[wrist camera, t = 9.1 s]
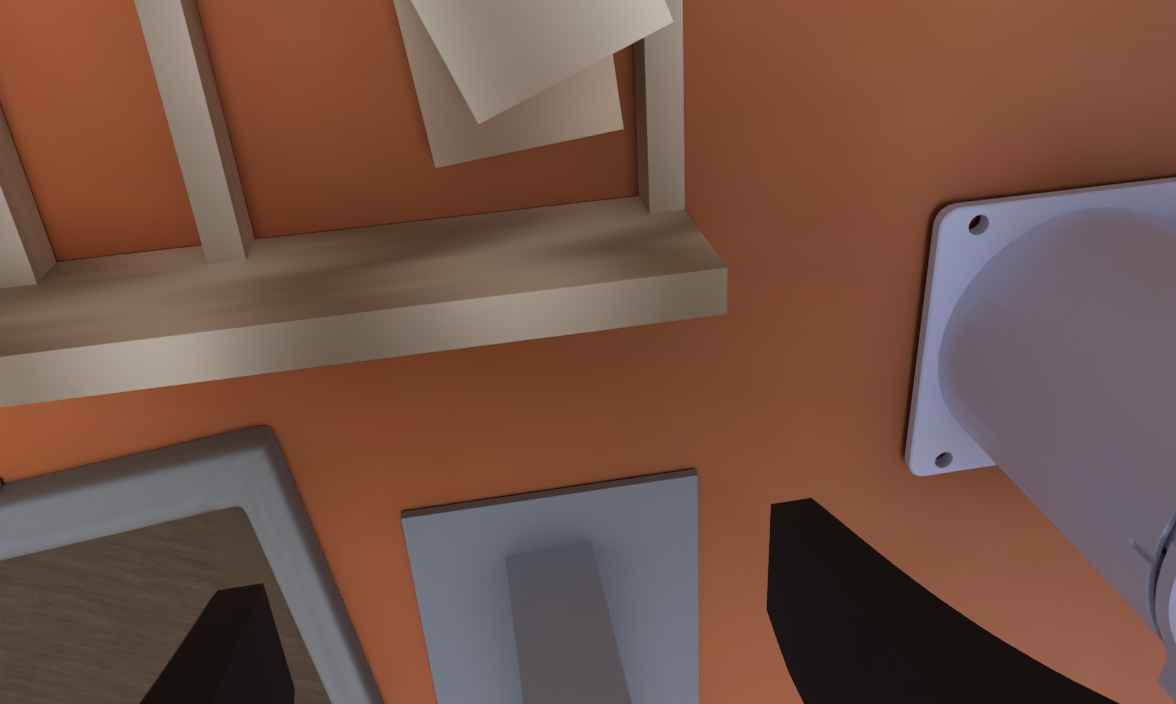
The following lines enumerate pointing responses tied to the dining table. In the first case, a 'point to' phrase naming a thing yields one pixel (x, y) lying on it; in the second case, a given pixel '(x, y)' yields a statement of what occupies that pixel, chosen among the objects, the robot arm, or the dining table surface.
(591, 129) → the offcut long
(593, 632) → the upright grey-blue panel
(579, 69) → the offcut short
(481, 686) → the mat
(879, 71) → the dining table surface
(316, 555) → the grey rimmed tray
